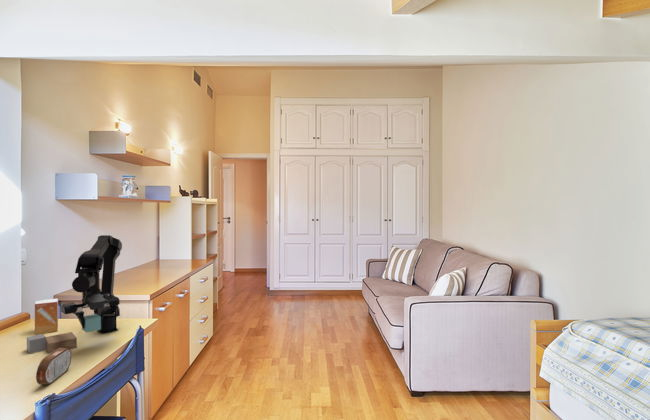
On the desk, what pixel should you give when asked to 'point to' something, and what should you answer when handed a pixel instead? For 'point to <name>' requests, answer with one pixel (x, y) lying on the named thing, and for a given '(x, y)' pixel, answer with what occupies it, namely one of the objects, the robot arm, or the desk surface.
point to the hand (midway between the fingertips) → (91, 326)
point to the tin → (53, 366)
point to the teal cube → (92, 323)
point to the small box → (46, 316)
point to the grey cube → (36, 343)
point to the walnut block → (61, 342)
